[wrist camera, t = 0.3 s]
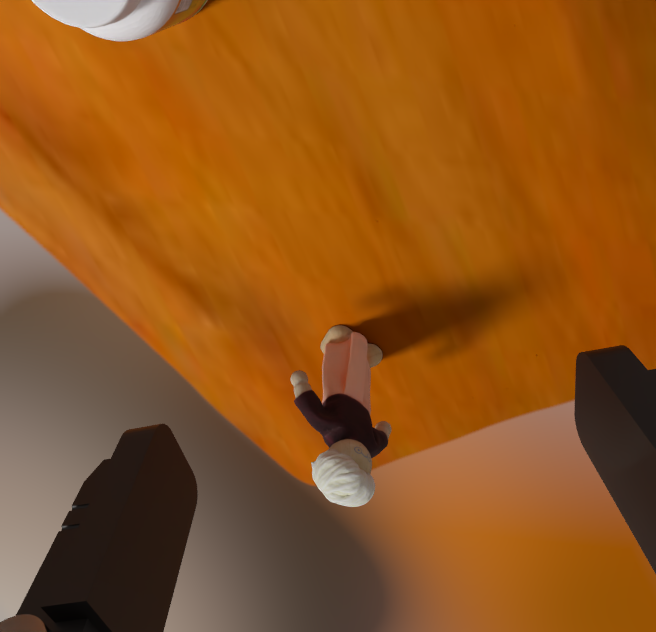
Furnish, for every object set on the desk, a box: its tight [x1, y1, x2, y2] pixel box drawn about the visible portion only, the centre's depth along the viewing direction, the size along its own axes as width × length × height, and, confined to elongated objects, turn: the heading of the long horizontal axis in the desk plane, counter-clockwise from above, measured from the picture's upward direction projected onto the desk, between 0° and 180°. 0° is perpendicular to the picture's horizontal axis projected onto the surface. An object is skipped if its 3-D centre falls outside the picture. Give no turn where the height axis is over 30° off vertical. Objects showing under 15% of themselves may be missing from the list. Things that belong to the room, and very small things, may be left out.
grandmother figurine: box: [291, 325, 391, 507], centre depth 31 cm, size 8×4×13 cm, turn 62°
